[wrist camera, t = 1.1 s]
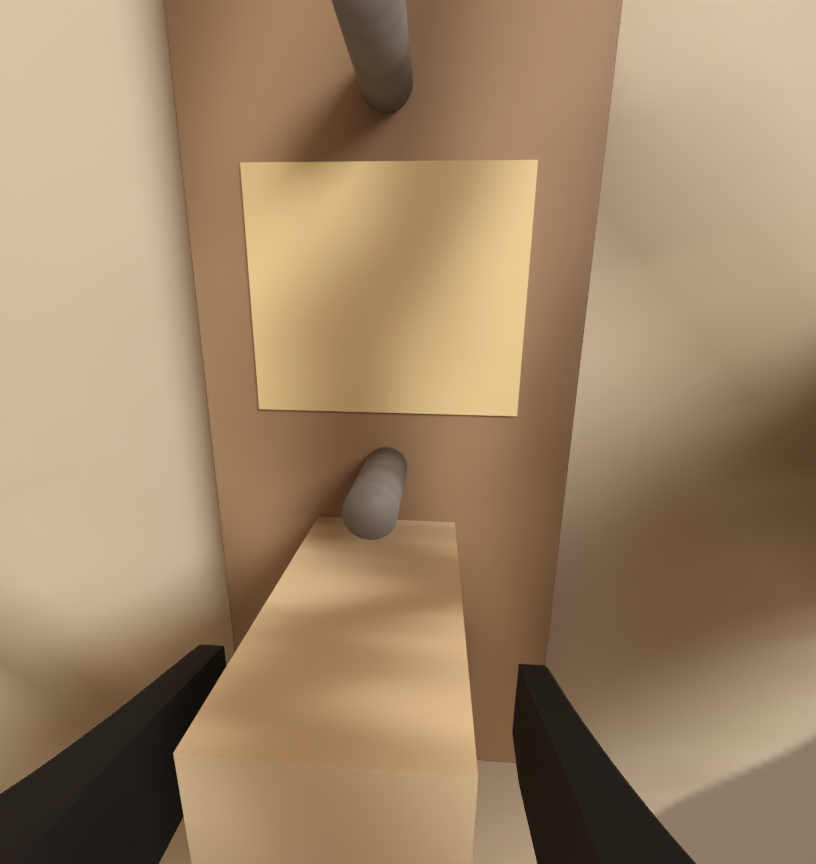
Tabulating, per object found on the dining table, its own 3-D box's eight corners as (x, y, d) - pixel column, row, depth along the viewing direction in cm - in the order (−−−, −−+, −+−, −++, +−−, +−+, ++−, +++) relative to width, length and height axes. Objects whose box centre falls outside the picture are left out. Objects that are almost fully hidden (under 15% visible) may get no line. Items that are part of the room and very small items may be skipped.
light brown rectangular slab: (454, 522, 12) (478, 777, 5) (447, 690, 14) (457, 1057, 7) (313, 516, 12) (161, 752, 6) (321, 682, 14) (209, 1027, 7)
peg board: (656, -522, 8) (923, -1546, 4) (523, 723, 16) (557, 878, 11) (153, -469, 9) (-140, -1288, 4) (261, 704, 16) (197, 844, 12)
